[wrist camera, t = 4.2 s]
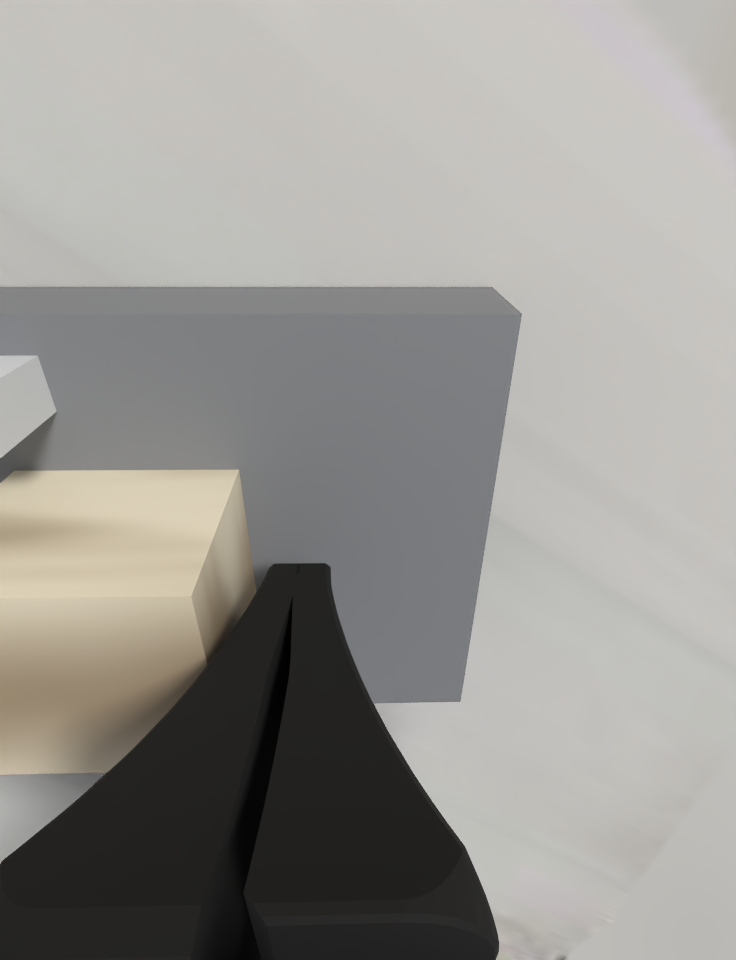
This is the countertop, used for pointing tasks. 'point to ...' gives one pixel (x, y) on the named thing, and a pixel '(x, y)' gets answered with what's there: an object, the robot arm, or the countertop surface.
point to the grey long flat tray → (293, 434)
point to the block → (111, 606)
